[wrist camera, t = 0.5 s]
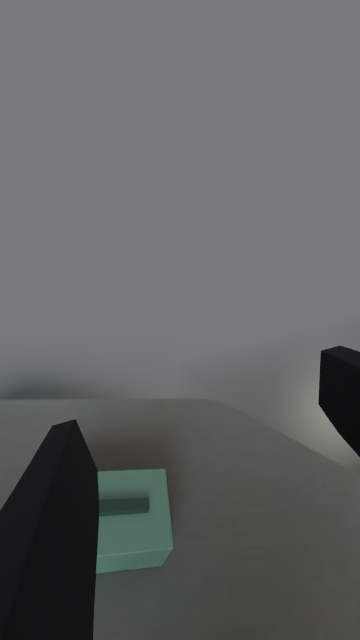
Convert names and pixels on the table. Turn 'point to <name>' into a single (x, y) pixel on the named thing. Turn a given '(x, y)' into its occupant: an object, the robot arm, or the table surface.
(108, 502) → the green pad
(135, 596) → the table surface
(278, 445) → the table surface
